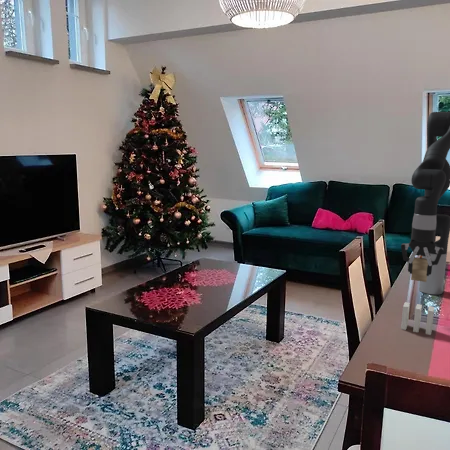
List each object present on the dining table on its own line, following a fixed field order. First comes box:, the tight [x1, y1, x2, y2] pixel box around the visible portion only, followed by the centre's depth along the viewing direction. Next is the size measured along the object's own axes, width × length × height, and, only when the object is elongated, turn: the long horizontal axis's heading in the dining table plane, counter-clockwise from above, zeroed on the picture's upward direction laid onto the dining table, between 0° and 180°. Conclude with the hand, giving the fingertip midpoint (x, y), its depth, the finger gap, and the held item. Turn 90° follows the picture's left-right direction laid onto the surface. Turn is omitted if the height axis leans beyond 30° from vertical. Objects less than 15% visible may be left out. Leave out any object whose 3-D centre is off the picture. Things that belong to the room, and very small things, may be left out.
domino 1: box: [400, 301, 411, 331], centre depth 152 cm, size 5×2×8 cm, turn 152°
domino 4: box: [425, 305, 435, 336], centre depth 149 cm, size 5×2×8 cm, turn 152°
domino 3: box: [412, 303, 423, 333], centre depth 150 cm, size 5×2×8 cm, turn 152°
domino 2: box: [410, 256, 428, 282], centre depth 159 cm, size 5×2×8 cm, turn 62°
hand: (419, 274), depth 160 cm, fingers closed on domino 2, 5 cm apart
